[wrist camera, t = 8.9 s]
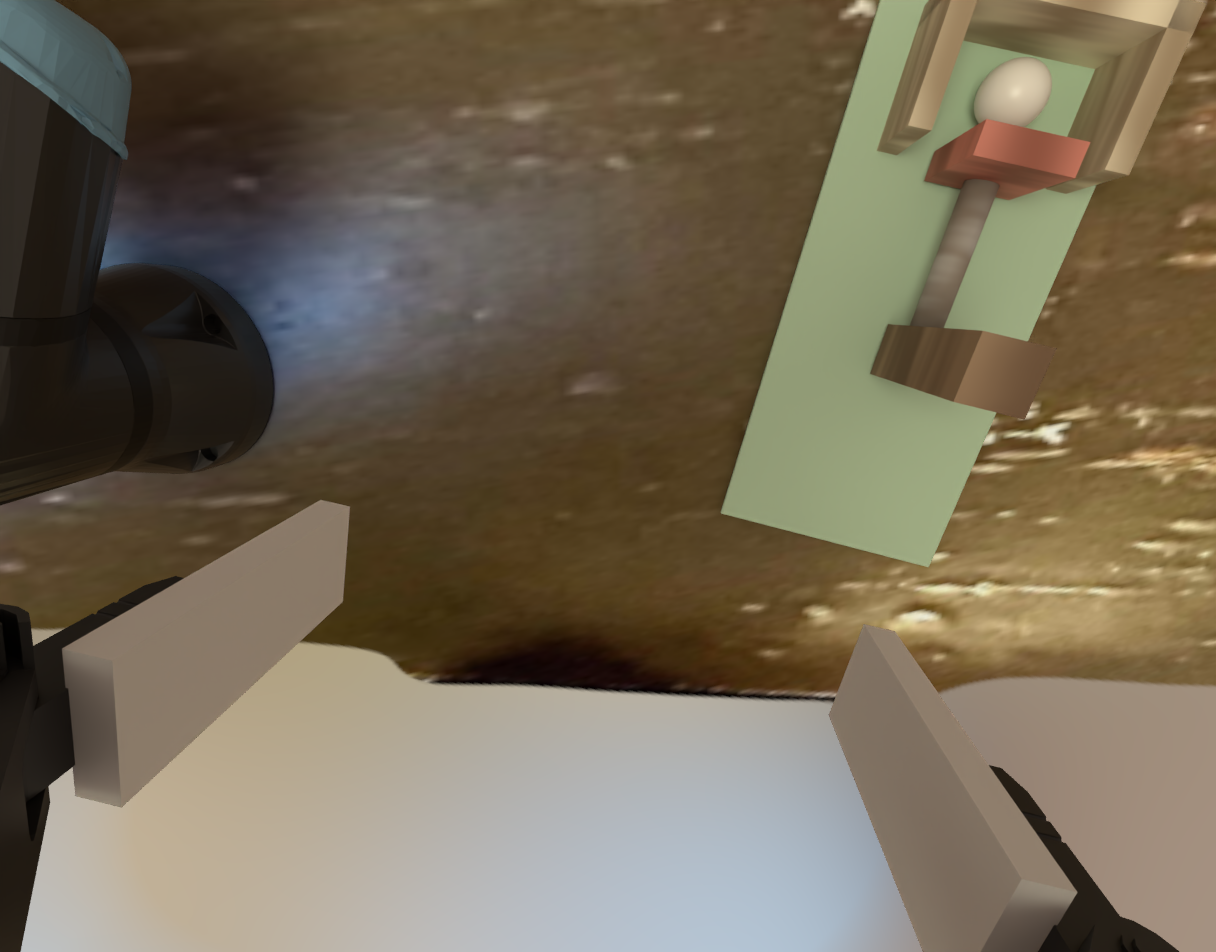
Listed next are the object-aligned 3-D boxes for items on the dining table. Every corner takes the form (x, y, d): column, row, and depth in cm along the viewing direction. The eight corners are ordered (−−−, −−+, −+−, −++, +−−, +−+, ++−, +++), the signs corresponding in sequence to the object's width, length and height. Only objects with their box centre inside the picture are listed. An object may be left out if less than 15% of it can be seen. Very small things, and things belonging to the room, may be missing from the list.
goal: (876, 150, 35) (908, 125, 30) (924, 5, 32) (967, -47, 28) (1065, 193, 34) (1128, 175, 29) (1127, 49, 32) (1206, 3, 27)
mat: (720, 511, 42) (720, 513, 42) (881, -7, 33) (883, -10, 32) (926, 564, 42) (928, 567, 41) (1150, 51, 32) (1156, 48, 32)
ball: (983, 56, 32) (952, 127, 34) (1010, 44, 29) (975, 124, 31) (1046, 69, 32) (1012, 141, 34) (1080, 59, 29) (1041, 138, 31)
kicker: (856, 370, 38) (933, 396, 26) (934, 151, 34) (1065, 70, 22) (932, 389, 38) (1044, 424, 26) (1020, 170, 34) (1196, 99, 22)
